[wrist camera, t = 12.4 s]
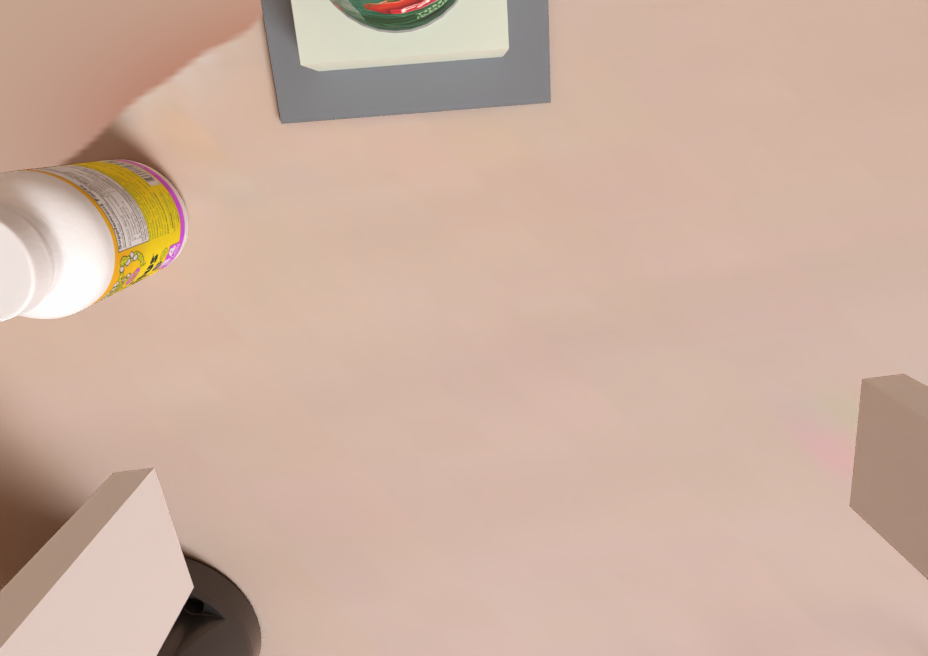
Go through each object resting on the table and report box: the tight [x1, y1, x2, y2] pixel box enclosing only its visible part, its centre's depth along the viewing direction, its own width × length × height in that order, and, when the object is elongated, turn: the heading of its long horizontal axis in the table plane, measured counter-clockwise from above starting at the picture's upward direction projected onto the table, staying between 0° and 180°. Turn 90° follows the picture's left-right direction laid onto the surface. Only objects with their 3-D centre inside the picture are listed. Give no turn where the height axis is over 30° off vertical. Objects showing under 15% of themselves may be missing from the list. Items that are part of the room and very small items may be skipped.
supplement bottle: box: [0, 159, 189, 321], centre depth 29 cm, size 7×7×13 cm
